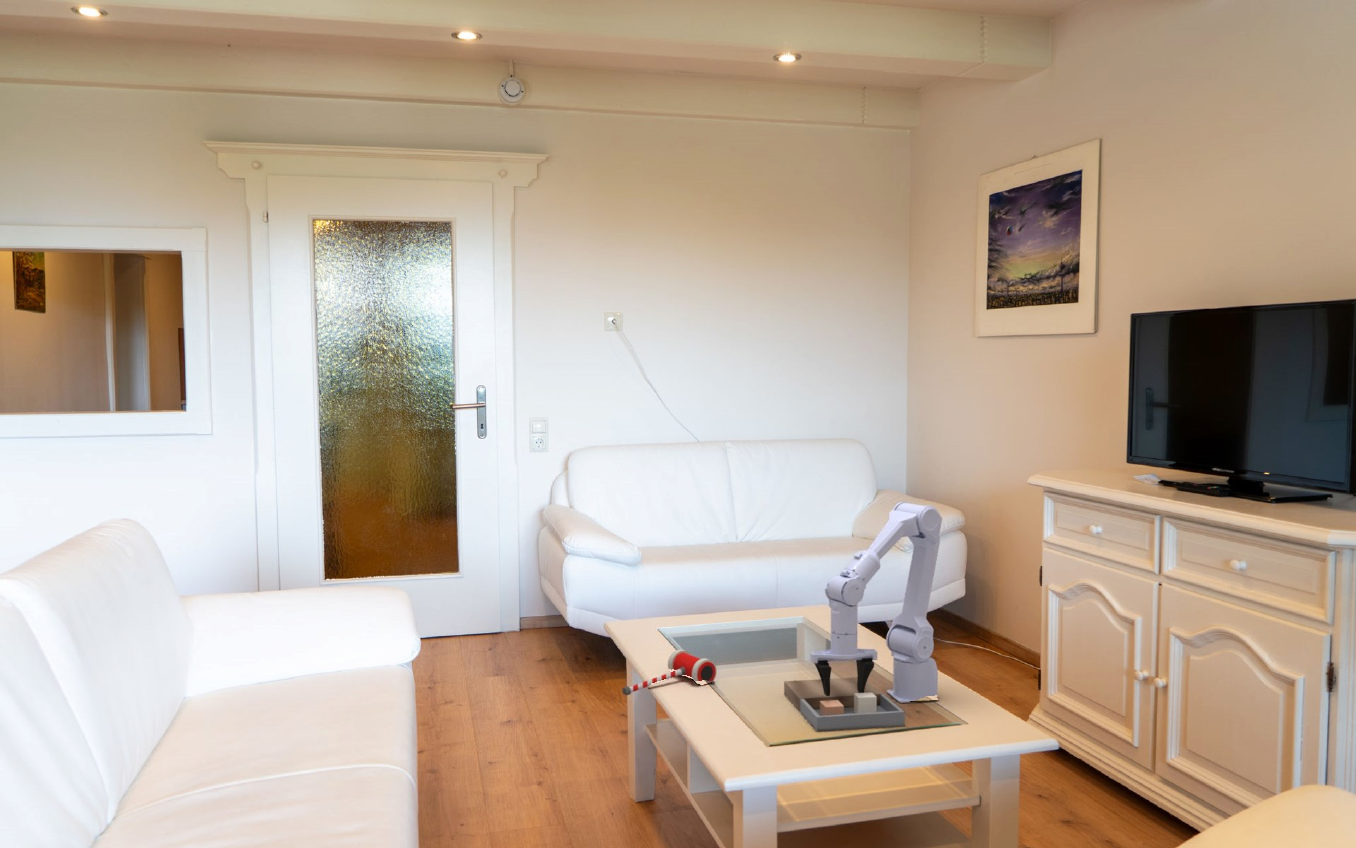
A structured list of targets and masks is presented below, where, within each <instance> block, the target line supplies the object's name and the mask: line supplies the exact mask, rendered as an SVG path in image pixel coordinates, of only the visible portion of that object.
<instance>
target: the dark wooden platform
mask: <svg viewBox="0 0 1356 848" xmlns="http://www.w3.org/2000/svg"><path fill="white" fill-rule="evenodd" d="M857 678H858V676H857V677H855V676H854V677H838V678H836V677H835V678H830V696H826V695H825V694H824V690H823V685H822V681H821V678H819V679H804V680H803V679H802V680H785V681H783V695H784V696H785V697H786V699H788V700H789V701H790V703H791V705H793V706H794V707H795V709H796V710H797V711H798V712H799V713H800V699H804V700H805V701H806V702H807V703H808V704H809V705H810V706H811V707H812V708H813V709H814V710H817V709H820V701H828V700H838V701H839V702H840V703H841V704H842V705H843V706H844V708H850V707H854V693H859V692H858V690H857ZM870 692H872V693H873V694H874V695H875V696H876V697H877V706H880V694H884V693H883V692H881V690H879V689H878V688H877V687H876V686H874V685H873V684H872V683H871V682H869V680H867V682H866V686H865V690H864V693H870Z"/></svg>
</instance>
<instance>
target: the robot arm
mask: <svg viewBox="0 0 1356 848" xmlns="http://www.w3.org/2000/svg"><path fill="white" fill-rule="evenodd" d="M942 521H943V517H942V516H941V514H940V512H939V510H938V509H937V508H936V507H935V506H933V505H922V504H916V503H915V504H914V503H908V502H907V501H901V502H898V503H897V504H895V505H894V507H893V509H891V511H889V513H888V521H887V522H886V524H885V525H884V526H883V527H882V529H881V530H880V532H879V533H878V535H877V536H876V537H875V539H874V541H873V542H872V543H871V545H870V546H869V547H868V549H866V550H865V549H864V550H860V551H856V553H854V555H853V557H852V559H851V560H850V561H849V563H848V564H847V565H846V566H845V568H843V569H842V570H841V572H840V573H839V575H834V576H833V577H831V578H830V579H829V581H828V582H827V584H826V587H825V588H824V592H825V593H824V594H825V596H826V598H827V599H828V602H829V603H828V606H829V607H830V649H826V650H824V649H823V650H820V651H810V662H811V663H813V664H814V666H815V668H816V670H817V672H818V675H819V677H820V678H819V679H821V681H822V685H823V690H824V694H825V695H826V696H830V679H831V674H832V673H831V672H832V667H831V665H830V663H829V662H846V661H850V662H851V661H855V663H856V671H857V677H858V678H857V690H858V692H859V693H864V690H865V686H866V682H867V681H868V679H869V678H870V675H871V673H872V671H873V669H874V668H875V662H874V661H878V651H877V650H876V649H875V648H858V604H859V603H860V602H861V601H863V598H864V596H865V590H866V588H867V585H868V584H869V582H870V581H871V580H872V578H873V577H874V576H875V575H876V574H877V573H878V571H880V569H881V559H883V557H884V556H885V555H886V554H888V552H889V551H890V550H891V549H892V548H893V547H894V546H895V545H896V544H897V543H898V542H899V541H900V540H902V538H905V537H907V538H908V539H909V540H910V542H911V544H912V545H913V550H912V556H911V561H910V565H909V566H910V567H909V572H908V578H907V584H906V587H905V593H904V599H903V603H902V609H901V613H900V614H899V615H897V616H896V617H895V618H893V619H892V623H891V626H890V628H889V630H888V632H887V634H886V637H885V639H886V640H885V641H886V642H885V643H886V647H887V649H888V650H889V651H890V653H891V657H893V660H892V661H893V668H892V669H893V672H892V673H893V674H892V675H893V676H892V677H893V679H892V681H893V682H892V686H893V687H892V688H893V689H887V690H886V693H887V694H888V695H889V696H891V697H892V698H893V699H895V700H896V701H897V702H898V703H900V704H903V703H904V704H905V703H911V702H910V701H915V700H919V699H920V698H924V697H926V696H935V695H938V693H939V692H938V689H939V688H938V686H939V685H938V684H939V681H938V679H939V678H938V677H939V672H938V666H937V662H936V660H935V659H934V658H933V657H931V656H932V654H933V652H934V648H935V647H934V646H935V645H934V628H933V626H932V625H931V624H930V622H929V621H928V619H927V615H928V609H929V603H930V599H931V598H930V597H931V592H932V588H933V582H934V576H935V570H936V565H937V560H938V554H939V550H940V549H939V548H940V544H941V541H940V540H941V539H940V538H941V537H940V534H941V528H942V527H941V526H942Z"/></svg>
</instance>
